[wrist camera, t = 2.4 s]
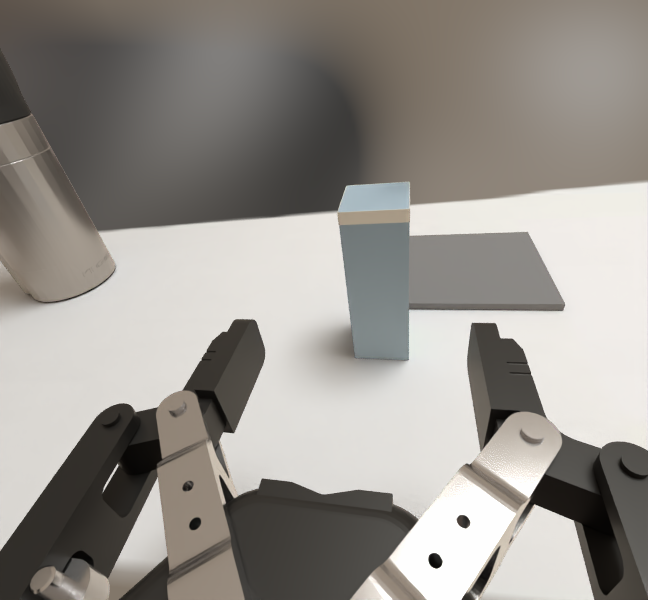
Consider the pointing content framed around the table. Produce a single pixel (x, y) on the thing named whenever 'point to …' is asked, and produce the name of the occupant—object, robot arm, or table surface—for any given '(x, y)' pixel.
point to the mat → (479, 273)
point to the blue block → (377, 267)
